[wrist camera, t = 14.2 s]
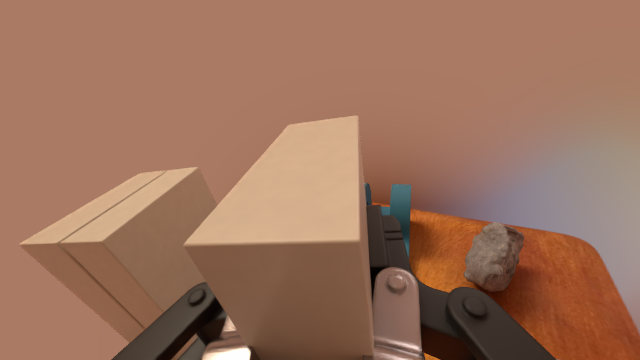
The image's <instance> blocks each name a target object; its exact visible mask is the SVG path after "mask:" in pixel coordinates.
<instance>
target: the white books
mask: <svg viewBox="0 0 640 360" xmlns="http://www.w3.org/2000/svg"><path fill="white" fill-rule="evenodd" d="M216 207H217V204H216V202H215V200H214V198H213V196H212V194H211V192H210V190H209V188H208V185H207V183H206V181H205V179H204V177H203V175H202V173H201V171H200V169H199V167H195V168H185V169H175V170H169V171H167V170H166V171H157V172H148V173H139V174H138V175H136V176H134V177H133V178H131V179H129V180H127V181H126V182H124V183H122V184H121V185H119V186H117V187H116V188H114V189H112V190H110V191H109V192H107V193H105V194H104V195H102V196H100V197H98V198H97V199H95V200H93V201H92V202H90V203H88V204H87V205H85V206H83V207H81V208H80V209H78V210H76V211H75V212H73V213H71V214H69V215H68V216H66V217H64V218H63V219H61V220H59V221H57V222H56V223H54V224H52V225H51V226H49V227H47V228H46V229H44V230H42V231H40V232H39V233H37V234H35V235H34V236H32V237H30V238H28V239H27V240H25V241H23V242H22V243H20V244H19V245H20V246H21V247H22V248H23V249H24V250H25V251H27V253H29V254H30V255H31V256H32V257H33V258H34V259H36V260H37V261H38V262H39V263H40V264H41V265H42V266H43V267H44V268H46V269H47V270H48V271H49V272H50V273H51V274H52V275H53V276H55V277H56V278H57V279H58V280H59V281H60V282H61V283H63V284H64V285H65V286H66V287H67V288H68V289H69V290H70V291H72V292H73V293H74V294H75V295H76V296H77V297H78V298H80V299H81V300H82V301H83V302H84V303H85V304H86V305H87V306H89V307H90V308H91V309H92V310H93V311H94V312H95V313H96V314H98V315H99V316H100V317H101V318H102V319H103V320H104V321H106V322H107V323H108V324H109V325H110V326H111V327H113V328H114V329H115V330H116V331H117V332H118V333H119V334H120V335H122V336H123V337H124V338H125V339H126V340H127V341H128V342H129V343H130V342H132V341H133V340H134V339H135V338H136V337H137V336H138V335H139V334H141V333H142V332H143V331H144V330H145V329H146V328H147V327H148V326H149V325H151V324H152V323H153V322H154V321H155V320H156V319H157V318H158V317H159V316H161V315H162V314H163V313H164V312H165V311H166V310H167V309H168V308H169V307H171V306H172V305H173V304H174V303H175V302H176V301H177V300H178V299H180V298H181V297H182V296H183V295H184V294H185V293H186V292H187V291H188V290H190V289H191V288H192V287H194V286H196V285H197V284H200V283H203V282H206V281H205V279H204V278H203V276H202V275H201V273H200V272H199V270H198V268H197V267H196V265H195V264H194V262H193V261H192V259H191V257H190V256H189V254H188V253H187V251H186V250H185V248H184V246H183V245H184V243H185V242H186V241H187V239H188V238H189V237H190V236H191V235H192V234H193V233H194V232H195V230H196V229H197V228H198V227H199V226H200V225H201V224H202V223H203V221H204V220H205V219H206V218H207V217H208V216H209V215H210V213H211V212H212V211H213V210H214V209H215V208H216ZM197 337H198V336H197V335H196V334H195V335H194V336H193V337H192V338H191V339H190V340H189V341H188V342H187V343H186V344H185V345H184V347H183V348H182V349H181V350H180V351H179V352H178V353H177V354H176V355H175V356H174V357H173V358H172V359H171V360H177V359H178V358H179V357H180V356H181V355H182V354H183V353H184V352H185V350H186V349H187V348H188V347H189V346H190V345H191V344H192V343H193V342H194V341H195V340H196V338H197Z"/></svg>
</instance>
